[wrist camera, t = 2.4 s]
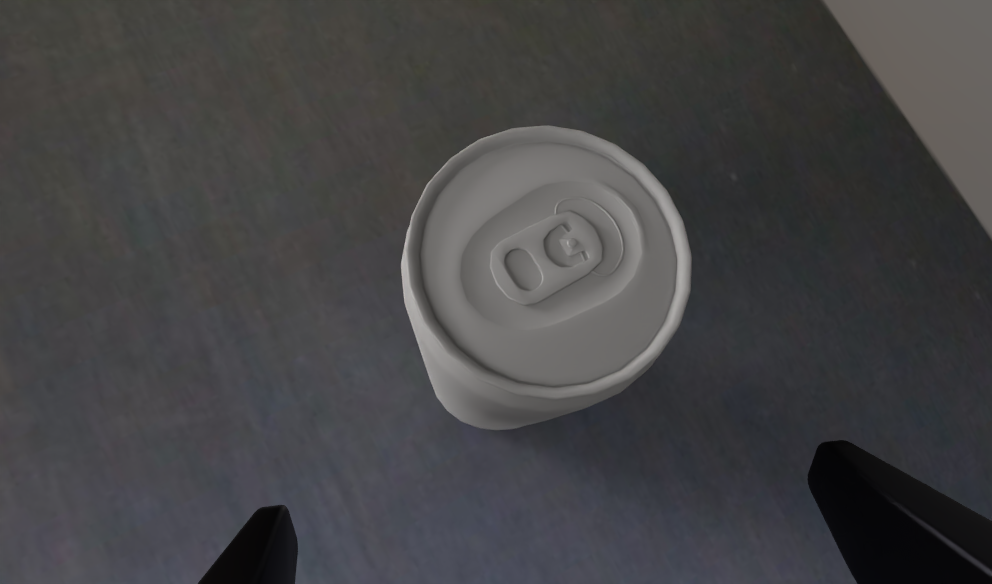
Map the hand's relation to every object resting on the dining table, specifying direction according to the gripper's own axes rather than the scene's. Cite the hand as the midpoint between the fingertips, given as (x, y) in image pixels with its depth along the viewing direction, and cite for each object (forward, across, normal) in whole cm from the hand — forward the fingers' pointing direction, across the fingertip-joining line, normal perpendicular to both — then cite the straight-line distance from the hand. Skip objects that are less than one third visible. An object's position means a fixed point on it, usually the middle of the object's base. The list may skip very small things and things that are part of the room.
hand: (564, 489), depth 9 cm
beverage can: (+10, 0, +5) cm, 11 cm away
